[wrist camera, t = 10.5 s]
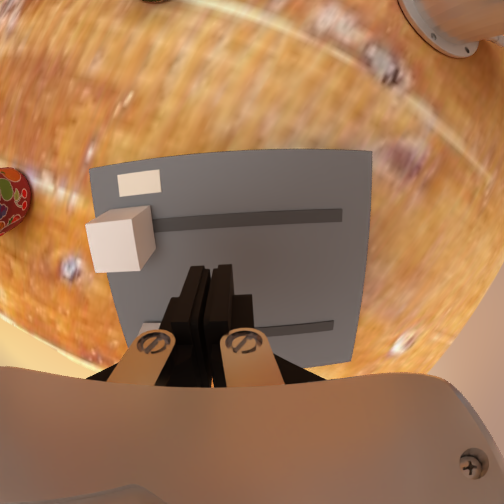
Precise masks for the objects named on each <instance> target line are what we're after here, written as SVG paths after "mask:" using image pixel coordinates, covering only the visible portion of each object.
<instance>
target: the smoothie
mask: <svg viewBox="0 0 504 504" xmlns="http://www.w3.org/2000/svg"><path fill="white" fill-rule="evenodd" d="M30 202H31V193H30V187H29V184H28V181H27V179H26V178H25V177H24V175H23V174H21V173H20V172H19V171H16V170H15V169H14V168H9V167H6V168H0V236H1V235H3V234H4V233H6V232H7V231H9V230H11V229H12V228H14V227H15V226H17V225H18V224H19V223H21V222H22V220H23V218H24V217H25V215H26V213H27V211H28V210H29V206H30Z"/></svg>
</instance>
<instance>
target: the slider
mask: <svg viewBox="0 0 504 504" xmlns="http://www.w3.org/2000/svg"><path fill="white" fill-rule="evenodd" d="M85 226H86V231H87V237H88V242H89V246H90V251H91V256H92V260H93V264H94V268H95V273H105V272H127V271H141V269H142V268H143V266H144V265H145V263H146V262H147V261H148V259H149V258H150V256H151V255H152V253H153V252H154V251H155V249H156V244H155V238H154V231H153V224H152V216H151V208H150V205H147V206H137V207H128V208H119V209H111V210H108V211H107V212H105V213H103V214H102V215H100V216H98V217H96V218H95V219H93V220H91V221H90V222H88V223H86V224H85Z"/></svg>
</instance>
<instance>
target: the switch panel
mask: <svg viewBox="0 0 504 504" xmlns="http://www.w3.org/2000/svg"><path fill="white" fill-rule="evenodd" d="M89 173H90V182H91V190H92V197H93V204H94V211H95V217H98V216H100V215H102V214H103V213H105V212H107V211H108V210H111V209H119V208H128V207H137V206H147V205H150V208H151V216H152V224H153V231H154V238H155V244H156V249H155V251H154V252H153V253H152V255H151V256H150V258H149V259H148V261H147V262H146V263H145V265H144V266H143V268H142V269H141V271H127V272H107V276H108V280H109V284H110V288H111V292H112V296H113V300H114V303H115V307H116V310H117V314H118V317H119V321H120V324H121V327H122V330H123V333H124V337H125V340H126V343H127V346H128V348H129V347H130V345H131V344H132V342H133V341H134V340H135V338H136V337H137V336H138V334H139V331H140V329H141V327H142V325H143V323H161V322H162V319H163V316H164V314H165V311H166V309H167V306H168V304H169V301H170V299H171V297H179V296H180V293H181V291H182V288H183V285H184V282H185V280H186V277H187V274H188V272H189V269H190V267H191V266H202V265H204V266H205V269H210V274H211V277H212V272H213V268H218V265H222V264H232V269H233V282H234V294H235V295H242V294H252V300H253V314H254V328H255V329H256V330H259V331H261V332H262V333H264V334H265V335H266V337H267V339H268V341H269V344H270V347H271V349H272V352H273V353H274V354H276V355H278V356H279V357H281V358H283V359H285V360H287V361H289V362H291V363H293V364H295V365H297V366H299V367H301V368H309V367H316V366H324V365H331V364H337V363H343V362H350V361H351V358H352V353H353V348H354V343H355V337H356V332H357V326H358V320H359V314H360V307H361V301H362V294H363V286H364V278H365V270H366V261H367V251H368V239H369V227H370V211H371V189H372V151H360V150H336V149H267V150H242V151H225V152H211V153H199V154H188V155H179V156H170V157H161V158H153V159H146V160H139V161H132V162H125V163H119V164H113V165H107V166H102V167H96V168H92V169H89Z"/></svg>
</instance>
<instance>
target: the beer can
mask: <svg viewBox="0 0 504 504" xmlns="http://www.w3.org/2000/svg"><path fill="white" fill-rule="evenodd" d="M143 1H149V2H162V1H165V0H143Z"/></svg>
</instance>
